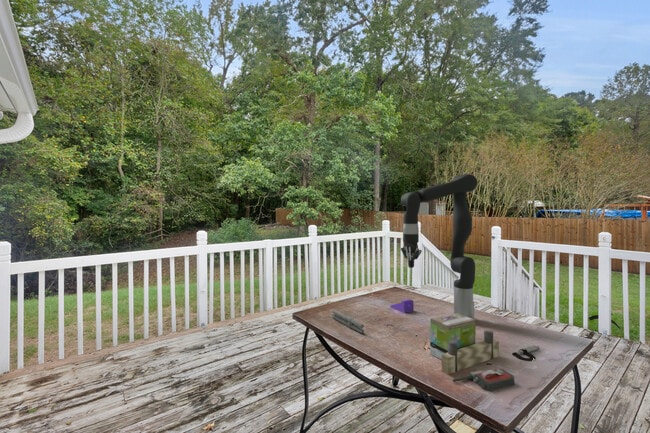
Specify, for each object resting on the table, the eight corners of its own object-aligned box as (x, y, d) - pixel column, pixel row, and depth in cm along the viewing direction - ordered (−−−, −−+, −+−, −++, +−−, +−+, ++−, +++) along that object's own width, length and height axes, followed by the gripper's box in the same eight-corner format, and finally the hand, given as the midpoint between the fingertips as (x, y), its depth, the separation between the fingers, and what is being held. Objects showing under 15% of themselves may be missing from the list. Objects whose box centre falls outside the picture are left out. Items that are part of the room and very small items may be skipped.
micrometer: (527, 363, 122) (527, 357, 122) (510, 356, 128) (509, 349, 128) (552, 356, 128) (552, 349, 128) (535, 348, 134) (535, 342, 134)
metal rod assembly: (331, 319, 173) (331, 309, 173) (336, 318, 175) (336, 308, 175) (360, 335, 151) (360, 324, 151) (365, 333, 152) (365, 323, 152)
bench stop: (491, 353, 130) (491, 328, 130) (499, 356, 127) (499, 331, 127) (441, 370, 117) (441, 343, 117) (448, 374, 114) (448, 346, 114)
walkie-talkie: (497, 372, 116) (450, 382, 110) (497, 360, 116) (450, 370, 110) (518, 385, 107) (469, 397, 101) (518, 372, 107) (469, 383, 101)
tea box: (449, 364, 121) (449, 325, 121) (429, 354, 130) (429, 317, 130) (476, 355, 128) (476, 318, 128) (455, 346, 137) (455, 311, 137)
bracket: (413, 311, 183) (413, 299, 183) (404, 313, 180) (404, 301, 180) (399, 306, 194) (399, 294, 194) (390, 307, 191) (390, 296, 191)
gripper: (426, 233, 156) (426, 268, 157) (407, 231, 168) (407, 264, 169) (414, 234, 153) (414, 270, 154) (396, 232, 165) (396, 266, 165)
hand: (411, 267), depth 161 cm, fingers closed
